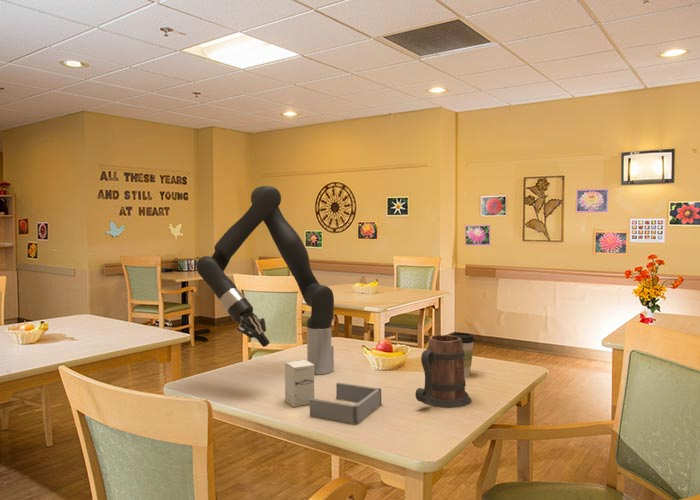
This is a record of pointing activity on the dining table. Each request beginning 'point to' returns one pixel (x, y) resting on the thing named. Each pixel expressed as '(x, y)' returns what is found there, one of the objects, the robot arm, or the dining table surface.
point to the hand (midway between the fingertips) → (266, 344)
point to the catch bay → (346, 412)
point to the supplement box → (299, 382)
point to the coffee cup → (466, 350)
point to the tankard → (444, 373)
